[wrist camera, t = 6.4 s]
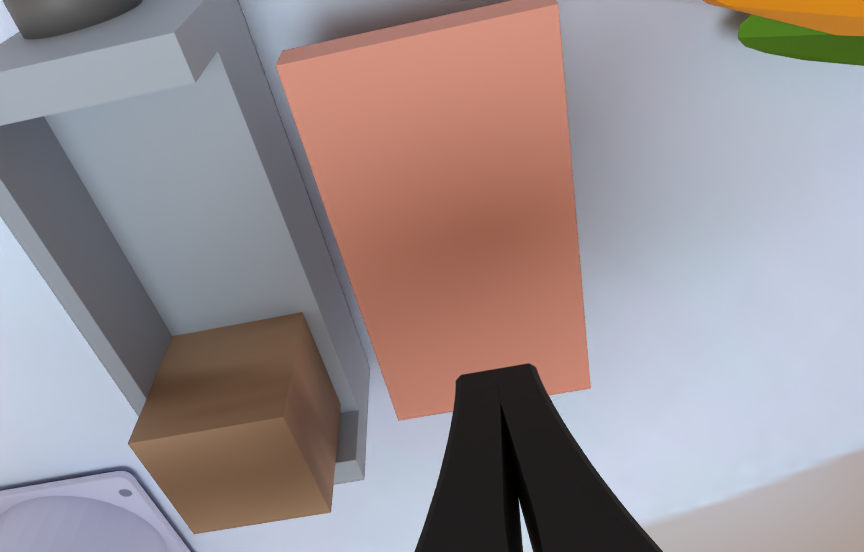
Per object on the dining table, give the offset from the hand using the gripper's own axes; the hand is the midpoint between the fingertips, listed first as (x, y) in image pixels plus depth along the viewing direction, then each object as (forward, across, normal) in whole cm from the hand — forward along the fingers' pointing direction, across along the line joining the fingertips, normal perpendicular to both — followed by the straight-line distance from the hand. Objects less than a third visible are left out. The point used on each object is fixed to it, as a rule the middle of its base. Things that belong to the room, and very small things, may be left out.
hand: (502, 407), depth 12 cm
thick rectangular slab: (+7, +3, +1) cm, 8 cm away
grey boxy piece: (+10, +7, +1) cm, 12 cm away
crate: (+7, +7, +4) cm, 11 cm away
